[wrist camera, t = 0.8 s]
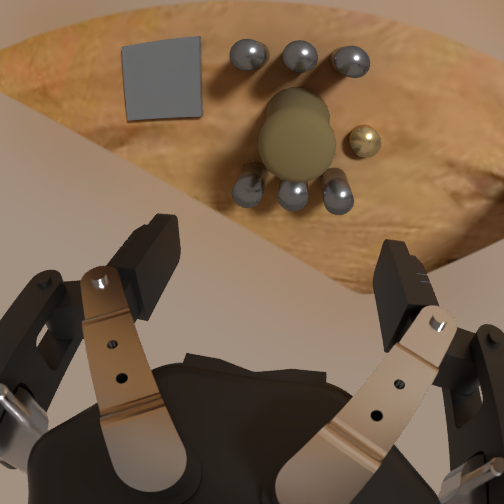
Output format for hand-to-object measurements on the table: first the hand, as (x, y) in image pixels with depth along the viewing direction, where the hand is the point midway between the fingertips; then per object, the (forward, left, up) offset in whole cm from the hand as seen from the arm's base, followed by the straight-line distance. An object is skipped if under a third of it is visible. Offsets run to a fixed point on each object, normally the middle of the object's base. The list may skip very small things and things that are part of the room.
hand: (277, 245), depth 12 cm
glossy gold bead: (-7, +1, -20) cm, 22 cm away
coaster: (+12, -5, -20) cm, 24 cm away
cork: (-1, -1, -20) cm, 20 cm away
